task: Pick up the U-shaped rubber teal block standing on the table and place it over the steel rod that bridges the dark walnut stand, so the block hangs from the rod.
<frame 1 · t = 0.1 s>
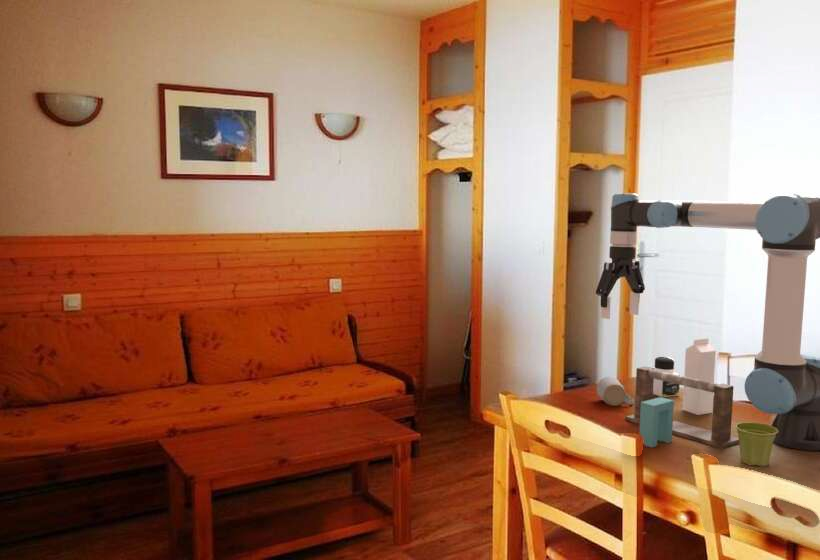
hand: (619, 316, 226), 28 cm above the table, tool pointing down, fingers open, 13 cm apart
milk: (697, 412, 225), on the table
hanger stand: (679, 430, 206), on the table
plant pot: (754, 463, 182), on the table
teal block: (655, 442, 196), on the table
ceramic mug: (615, 404, 233), on the table
medicine bottle: (663, 394, 245), on the table
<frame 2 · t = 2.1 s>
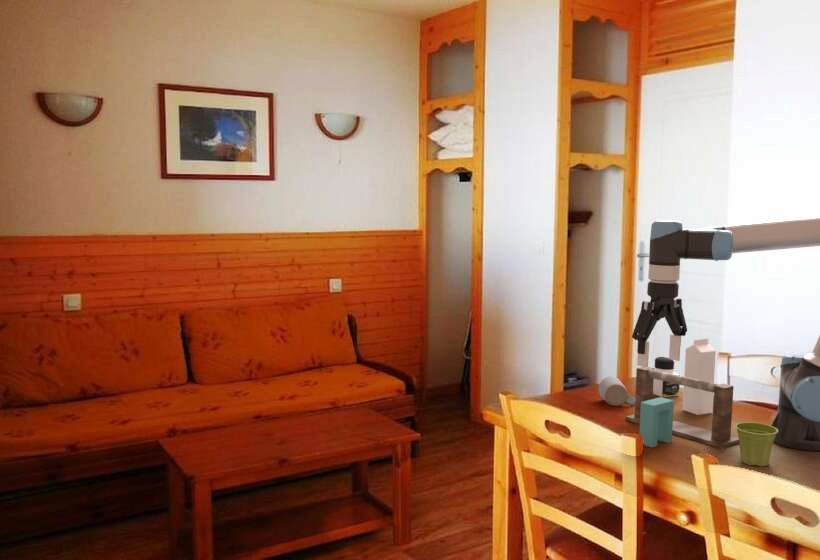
hand: (658, 363, 194), 21 cm above the table, tool pointing down, fingers open, 13 cm apart
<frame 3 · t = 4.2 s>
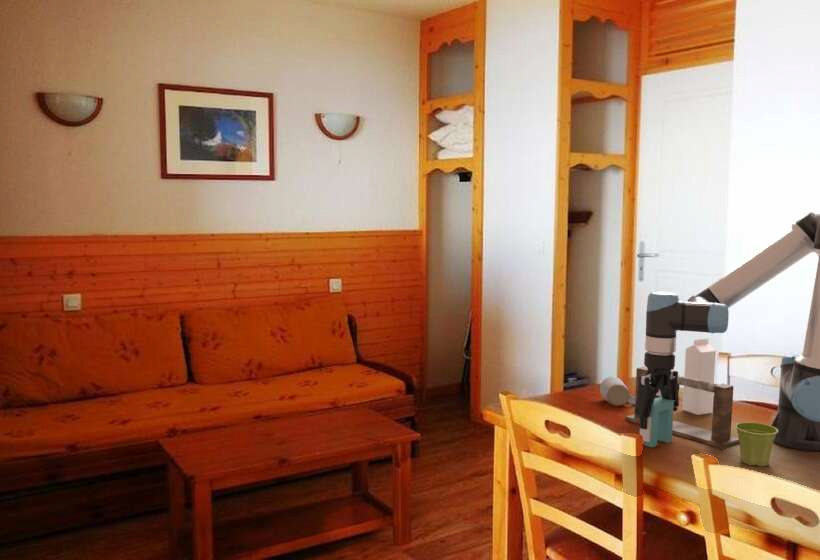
hand: (655, 437, 196), 1 cm above the table, tool pointing down, fingers closed on teal block, 8 cm apart
teal block: (655, 442, 196), on the table, touching gripper
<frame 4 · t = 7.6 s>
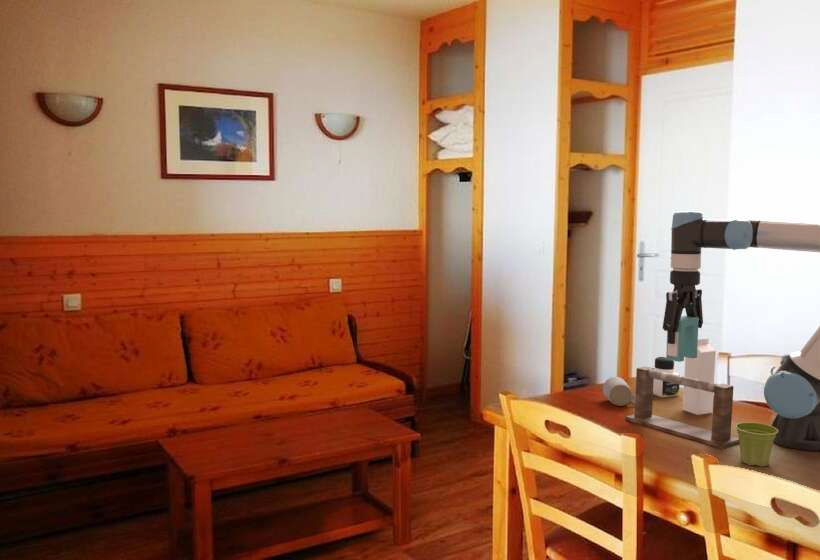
hand: (682, 353, 202), 22 cm above the table, tool pointing down, fingers closed on teal block, 8 cm apart
teal block: (681, 358, 202), point 21 cm above the table, touching gripper
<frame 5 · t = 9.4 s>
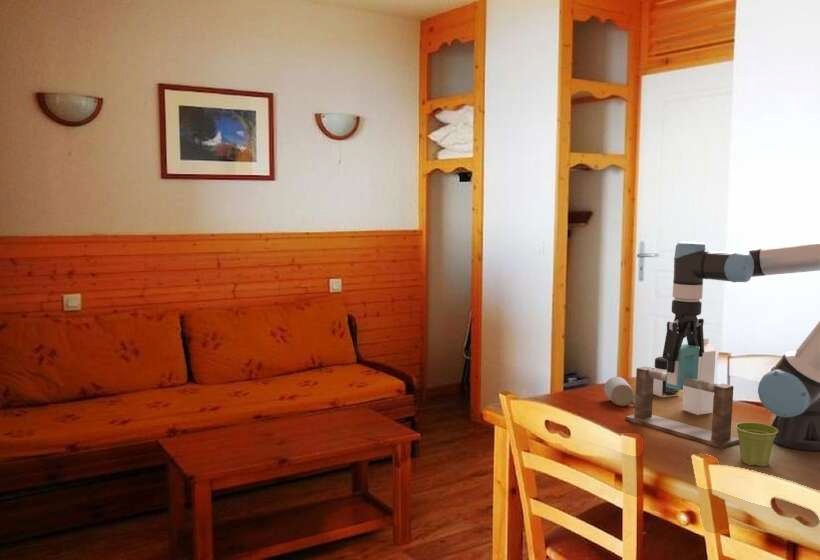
hand: (682, 381, 205), 14 cm above the table, tool pointing down, fingers closed on teal block, 8 cm apart
teal block: (681, 386, 205), point 12 cm above the table, touching gripper
when the fingers open (9 cm above the table, at t = 10.9 s): teal block stays where it is, resting on hanger stand.
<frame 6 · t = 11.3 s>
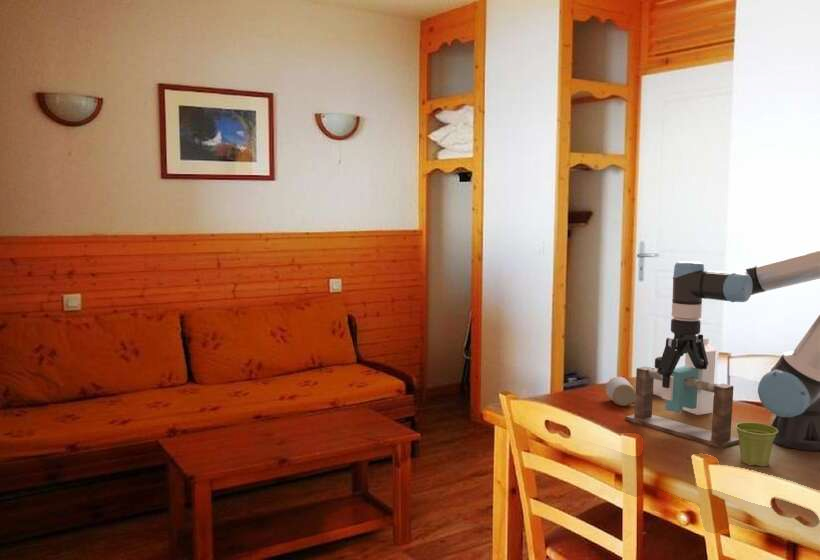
hand: (681, 395, 205), 10 cm above the table, tool pointing down, fingers open, 13 cm apart
teal block: (680, 408, 206), point 6 cm above the table, touching hanger stand
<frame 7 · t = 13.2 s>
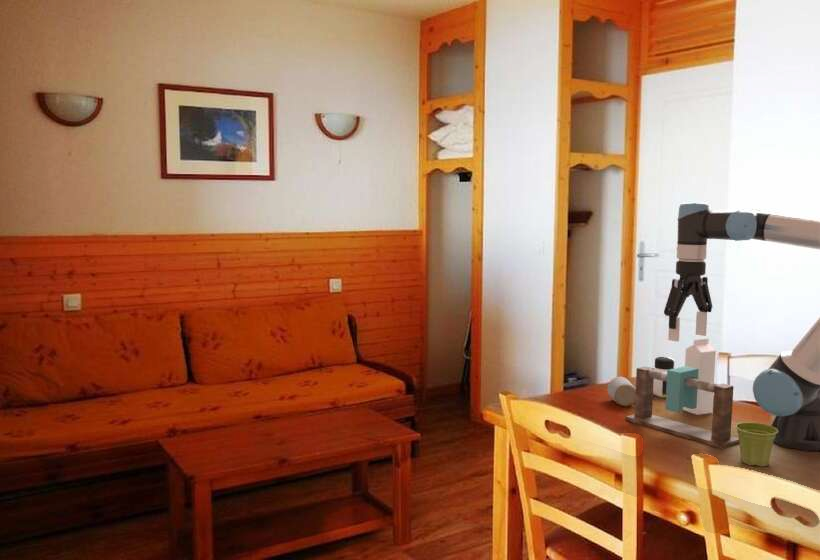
hand: (687, 338, 205), 26 cm above the table, tool pointing down, fingers open, 13 cm apart
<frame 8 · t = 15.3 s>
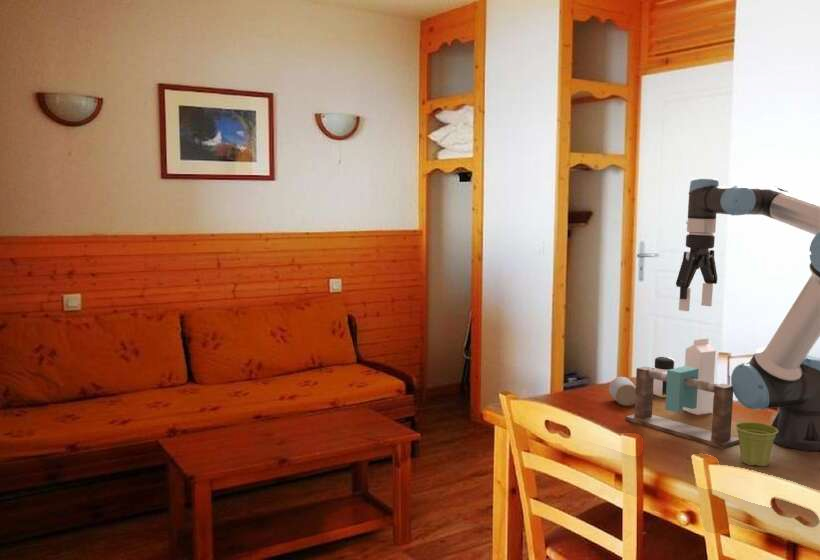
hand: (695, 308, 214), 32 cm above the table, tool pointing down, fingers open, 13 cm apart
at the end: teal block 0.1 cm off-centre on the hanger stand, point 6.2 cm above the hanger stand's base; teal block touching hanger stand; the gripper is holding nothing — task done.
